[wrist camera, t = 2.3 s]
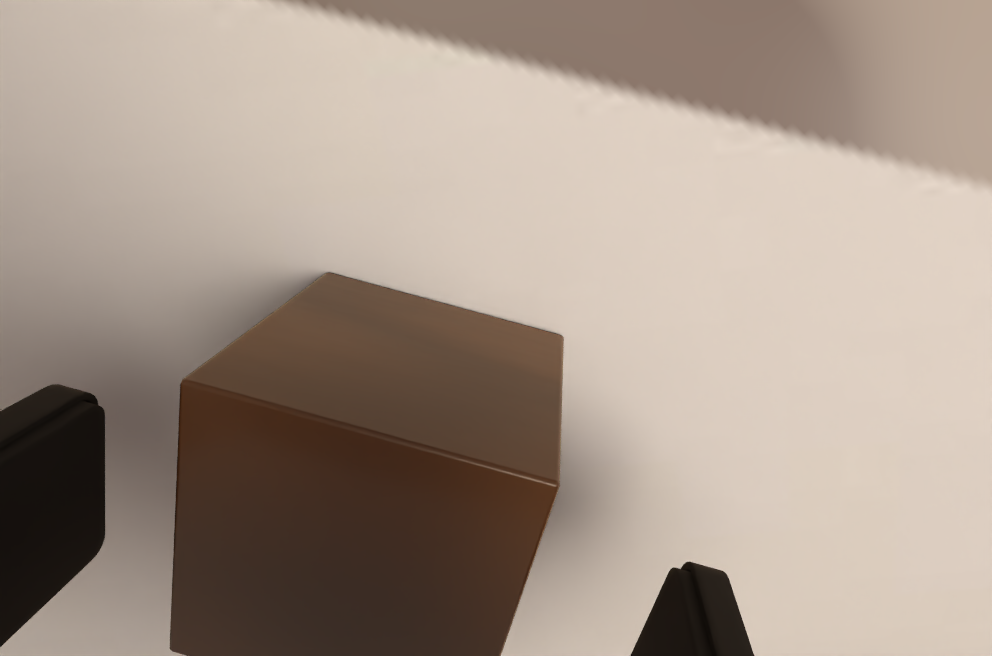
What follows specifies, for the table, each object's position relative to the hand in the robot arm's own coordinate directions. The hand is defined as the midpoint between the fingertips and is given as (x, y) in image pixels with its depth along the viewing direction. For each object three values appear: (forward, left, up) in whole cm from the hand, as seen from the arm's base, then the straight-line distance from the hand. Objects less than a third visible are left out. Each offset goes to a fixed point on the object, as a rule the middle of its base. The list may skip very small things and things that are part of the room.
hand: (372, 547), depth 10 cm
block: (0, 0, -4) cm, 4 cm away
